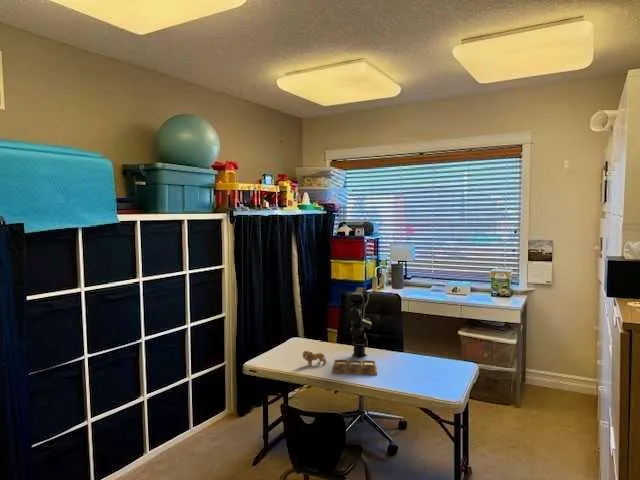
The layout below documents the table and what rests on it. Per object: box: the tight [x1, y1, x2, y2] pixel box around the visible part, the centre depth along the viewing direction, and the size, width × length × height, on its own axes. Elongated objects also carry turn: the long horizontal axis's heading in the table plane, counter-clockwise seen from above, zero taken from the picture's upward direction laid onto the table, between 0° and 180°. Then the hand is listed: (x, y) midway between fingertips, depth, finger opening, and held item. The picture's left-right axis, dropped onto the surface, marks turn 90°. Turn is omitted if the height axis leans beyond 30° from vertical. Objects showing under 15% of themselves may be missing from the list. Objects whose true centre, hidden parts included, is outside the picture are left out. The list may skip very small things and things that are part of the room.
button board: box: [331, 359, 378, 376], centre depth 242 cm, size 24×10×5 cm, turn 84°
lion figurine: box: [302, 350, 328, 367], centre depth 252 cm, size 15×5×9 cm, turn 112°
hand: (356, 342), depth 254 cm, fingers closed
